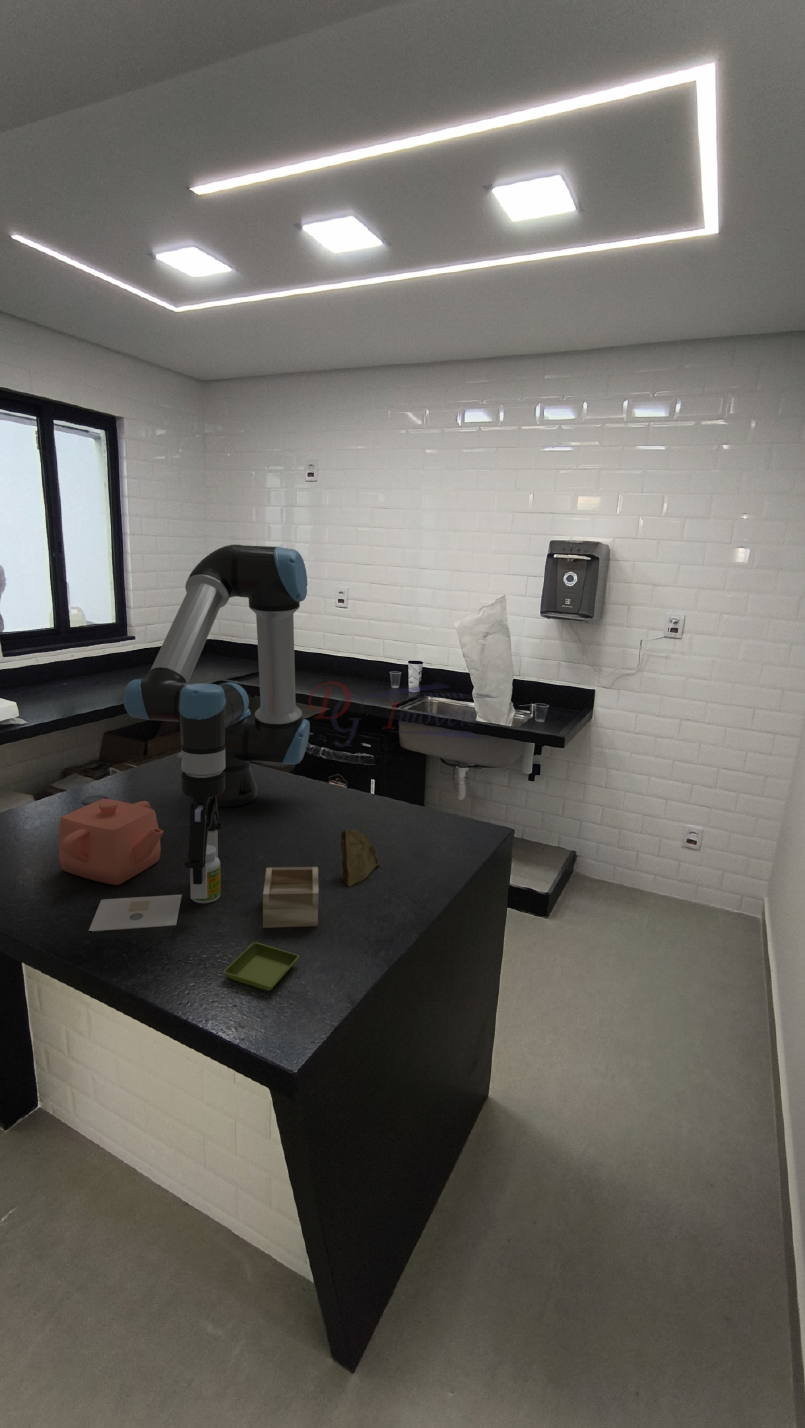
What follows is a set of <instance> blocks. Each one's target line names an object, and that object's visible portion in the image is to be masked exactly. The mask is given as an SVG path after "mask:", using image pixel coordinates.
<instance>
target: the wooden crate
mask: <svg viewBox="0 0 805 1428" xmlns="http://www.w3.org/2000/svg"><path fill="white" fill-rule="evenodd" d="M319 891H320V890H319V867H318V866H297V867H296V866H293V867H291V866H287V867H285V866H284V867H283V866H282V867H279V866H278V867H266V869H265V876H264V884H263V891H262V928H265V929H266V928H267V929H268V928H297V927H318V926H319V925H318V924H319V923H318V922H319Z"/></svg>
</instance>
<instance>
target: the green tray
mask: <svg viewBox="0 0 805 1428" xmlns="http://www.w3.org/2000/svg"><path fill="white" fill-rule="evenodd" d="M299 958H300V955H299V954H296V953H294V952H289V951H287V950H283V949H280V948H277V947H273V946H271V945H267V944H264V943H261V942H257V941H256V942H252V943H251V944H250V945H249V946H247V948H246V949H245V950H244V951H243V952H241V954H239V955H238V957H236V959H234V960H233V961H232V962H231V963H230V964H229V965H228V966H227V967H226V968H225V969H224V970H223V972H222V973H224V975H225V976H227V977H228V978H229V979H230V980H233V981H235V982H239V983H242V984H245V985H248V986H251V987H254V988H258V989H260V990H263V991H266V992H270V991H272V989H274V987H275V986H276V985H277V984H278V982H279V981H280V980H281V979H282V978H283V977H284V976H285V975H286V974H287V972H288V971H289V970H290V969H292V967H293V966H294V965H295V964H296V963H297V961H298V960H299Z"/></svg>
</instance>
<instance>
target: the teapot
mask: <svg viewBox="0 0 805 1428" xmlns="http://www.w3.org/2000/svg"><path fill="white" fill-rule="evenodd" d="M157 819H158V818H157V815H156V810H154V809H153V808H151V804H150V802H148V801H145V800H144V801H143V800H142V801H137V802H135V803H131V802H130V803H129V802H126V801H121V800H116V799H110V798H101V799H99V800H97V801H96V800H95V801H94V802H92V803H89V804H87V805H84V806H83V807H80V808H78V809H76V810H74V811H71V812H69V813H67V814H65V815H63V816H61V817H60V820H59V831H58V832H59V834H58V860H59V864H60V867H61V869H62V871H64V872H66V873H69V874H71V875H74V876H77V877H80V878H84V879H87V880H90V881H93V882H98V883H103V884H107V885H110V886H113V885H114V886H120V885H121V884H124V883H126V882H127V881H129V880H130V879H132V878H134V877H135V876H137V875H138V874H141V873H142V872H144V871H145V870H146V869H148V868H150V867H151V866H153V865H155V864H157V862H159V861H160V857H161V852H162V851H161V838H162V836H163V834H164V832H165V831H164V830H163V829H161V828H159V824H158V820H157Z"/></svg>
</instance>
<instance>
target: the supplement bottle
mask: <svg viewBox="0 0 805 1428" xmlns="http://www.w3.org/2000/svg"><path fill="white" fill-rule="evenodd" d="M205 862H206V863H207V899H191V900H192V901H193V902H195V903H197V904H210V903H213V902H215V901H218V899H219V898H220V897H221V892H222V890H221V888H222V887H221V885H222V884H221V882H222V880H221V877H222V876H221V860H220V859H219V857H218V858H217V857H216V848H215V847H214V846H211V845H207V849H206V860H205Z"/></svg>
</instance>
